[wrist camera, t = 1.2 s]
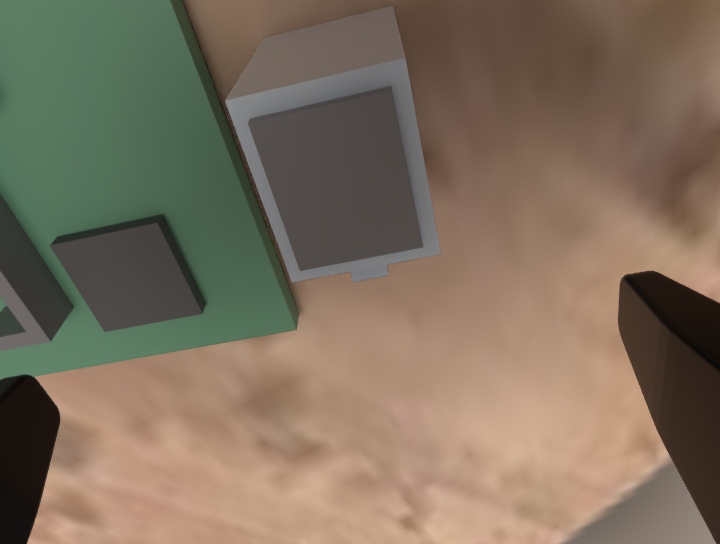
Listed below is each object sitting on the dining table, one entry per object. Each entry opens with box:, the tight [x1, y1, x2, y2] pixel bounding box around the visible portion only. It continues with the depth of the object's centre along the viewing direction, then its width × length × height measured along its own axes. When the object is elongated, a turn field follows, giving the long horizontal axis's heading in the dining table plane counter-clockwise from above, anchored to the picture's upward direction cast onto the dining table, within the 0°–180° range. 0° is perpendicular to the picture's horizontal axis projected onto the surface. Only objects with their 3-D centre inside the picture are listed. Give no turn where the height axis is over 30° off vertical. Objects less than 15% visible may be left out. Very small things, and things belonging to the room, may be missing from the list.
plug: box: [225, 6, 441, 283], centre depth 16 cm, size 4×6×6 cm
